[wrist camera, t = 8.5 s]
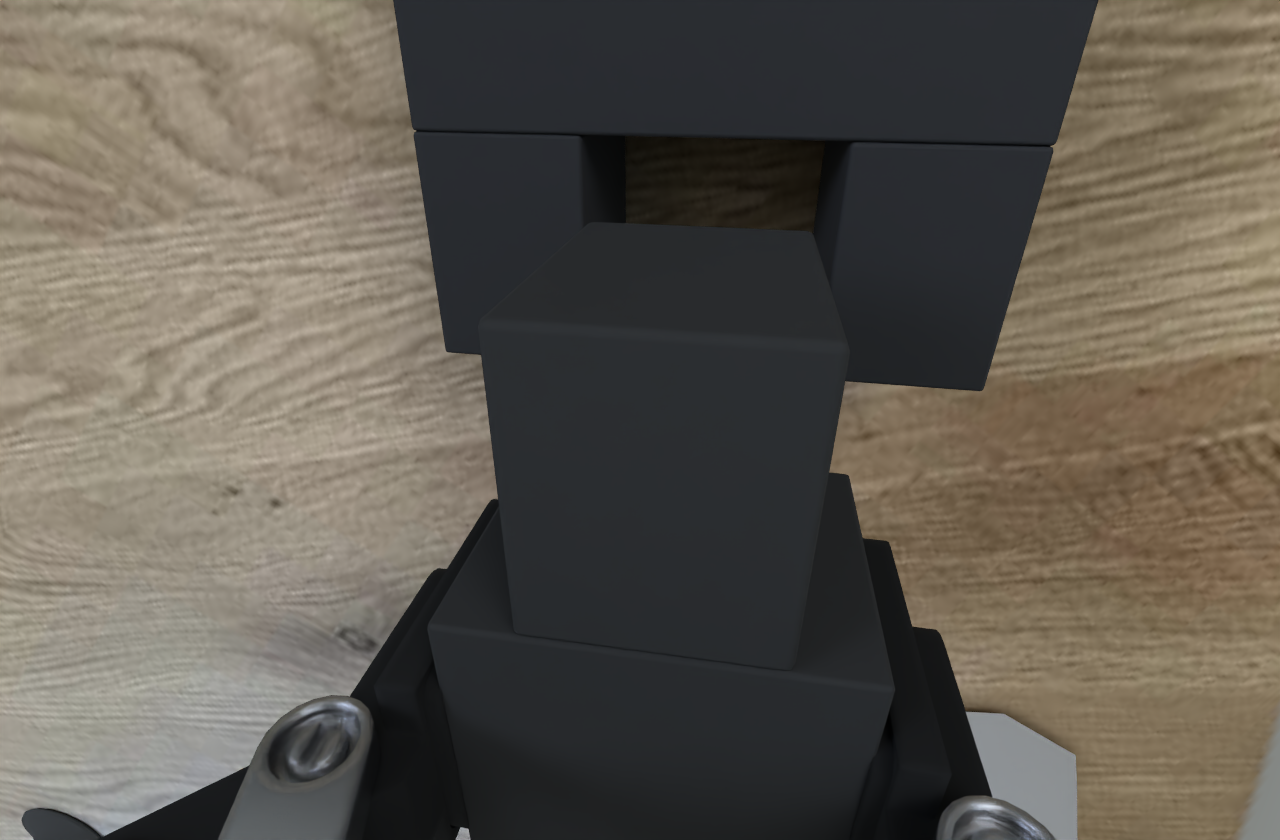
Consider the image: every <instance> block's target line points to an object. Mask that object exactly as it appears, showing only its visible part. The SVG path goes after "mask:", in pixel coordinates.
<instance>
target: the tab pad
mask: <svg viewBox="0 0 1280 840" xmlns="http://www.w3.org/2000/svg"><path fill="white" fill-rule="evenodd" d="M478 332H479V341H480V349H481V358H482V366H483V374H484V383H485V391H486V400H487V408H488V417H489V425H490V434H491V442H492V450H493V459H494V467H495V476H496V484H497V493H498V501H499V507H498V508H497V510H496V512H495V513H494V515H493V517H492V518H491V520H490V522H489V523H488V525H487V527H486V528H485V530H484V532H483V533H482V535H481V537H480V538H479V540H478V542H477V543H476V545H475V547H474V548H473V550H472V552H471V553H470V555H469V557H468V558H467V560H466V562H465V563H464V565H463V567H462V568H461V570H460V572H459V573H458V575H457V577H456V578H455V580H454V582H453V583H452V585H451V587H450V588H449V590H448V592H447V593H446V595H445V597H444V598H443V600H442V602H441V603H440V605H439V607H438V608H437V610H436V612H435V613H434V615H433V617H432V618H431V620H430V622H429V624H428V629H427V630H428V635H429V640H430V644H431V649H432V654H433V659H434V664H435V669H436V673H437V678H438V683H439V688H440V691H441V692H442V696H443V701H444V706H445V711H446V716H447V721H448V726H449V731H450V735H451V740H452V745H453V750H454V755H455V760H456V765H457V770H458V774H459V779H460V784H461V789H462V794H463V799H464V804H465V809H466V813H467V818H468V823H469V828H468V829H469V833H470V838H471V840H850V837H851V833H852V830H853V826H854V823H855V819H856V816H857V812H858V809H859V805H860V802H861V798H862V795H863V791H864V788H865V784H866V781H867V777H868V774H869V770H870V767H871V763H872V760H873V757H875V756H876V754H877V751H878V748H879V744H880V741H881V737H882V734H883V730H884V727H885V723H886V720H887V717H888V713H889V710H890V706H891V703H892V699H893V696H894V692H895V686H894V682H893V677H892V672H891V668H890V663H889V659H888V654H887V649H886V645H885V640H884V635H883V631H882V626H881V622H880V617H879V612H878V608H877V603H876V599H875V594H874V589H873V585H872V580H871V576H870V571H869V566H868V562H867V557H866V552H865V548H864V543H863V539H862V534H861V529H860V525H859V520H858V516H857V511H856V506H855V502H854V497H853V492H852V488H851V483H850V479H849V476H848V475H846V474H838V473H829V470H830V464H831V459H832V453H833V447H834V442H835V436H836V430H837V424H838V419H839V413H840V407H841V402H842V396H843V390H844V385H845V379H846V373H847V367H848V362H849V356H850V349H849V345H848V342H847V339H846V336H845V333H844V329H843V326H842V323H841V320H840V317H839V314H838V311H837V307H836V304H835V301H834V298H833V295H832V292H831V289H830V285H829V282H828V279H827V276H826V273H825V270H824V267H823V263H822V260H821V257H820V254H819V251H818V248H817V245H816V242H815V238H814V235H813V233H811V232H809V231H795V230H771V229H747V228H724V227H700V226H677V225H653V224H630V223H606V222H591V223H589V224H587V225H586V226H585V227H584V228H582V229H581V230H580V231H579V232H578V233H577V234H576V235H575V236H573V237H572V238H571V239H570V240H569V241H568V242H567V243H566V244H564V245H563V246H562V247H561V248H560V249H559V250H558V251H557V252H555V253H554V254H553V255H552V256H551V257H550V258H549V259H548V260H546V261H545V262H544V263H543V264H542V265H541V266H540V267H539V268H537V269H536V270H535V271H534V272H533V273H532V274H531V275H529V276H528V277H527V278H526V279H525V280H524V281H523V282H522V283H520V284H519V285H518V286H517V287H516V288H515V289H514V290H513V291H511V292H510V293H509V294H508V295H507V296H506V297H505V298H504V299H502V300H501V301H500V302H499V303H498V304H497V305H496V306H495V307H493V308H492V309H491V310H490V311H489V312H488V313H487V314H486V315H484V316H483V317H482V318H481V319H480V322H479V325H478Z"/></svg>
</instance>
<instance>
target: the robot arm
mask: <svg viewBox="0 0 1280 840" xmlns="http://www.w3.org/2000/svg"><path fill="white" fill-rule="evenodd" d="M498 507H499V501H498V500H497V499H493V500H491V501H490V502H489V503H488V505H487V506H486V508H485V510H484V511H483V513H482V514H481V516H480V518H479V519H478V521H477V522H476V524H475V526H474V527H473V529H472V530H471V532H470V533H469V535H468V537H467V538H466V540H465V541H464V543H463V545H462V546H461V548H460V549H459V551H458V552H457V554H456V556H455V557H454V559H453V560H452V562H451V564H450V565H449V567H448V568H447V569H441V568H438V569H436V570H434V571H433V572H432V573H431V574H430V576H429V577H428V578H427V580H426V581H425V583H424V584H423V586H422V587H421V589H420V590H419V592H418V593H417V595H416V596H415V598H414V599H413V601H412V602H411V604H410V606H409V607H408V609H407V610H406V612H405V613H404V615H403V616H402V618H401V619H400V621H399V622H398V624H397V625H396V627H395V628H394V630H393V631H392V633H391V634H390V636H389V637H388V639H387V641H386V642H385V644H384V645H383V647H382V648H381V650H380V651H379V653H378V654H377V656H376V657H375V659H374V660H373V662H372V663H371V665H370V666H369V668H368V669H367V671H366V672H365V674H364V676H363V677H362V679H361V680H360V682H359V683H358V685H357V686H356V688H355V689H354V691H353V692H352V694H351V695H350V697H349V696H337V695H331V696H326V697H321V698H317V699H313V700H311V701H308V702H306V703H304V704H302V705H299V706H297V707H296V708H294V709H293V710H291V711H290V712H288V713H287V714H285V715H284V716H282V717H281V718H280V719H279V720H278V721H277V722H276V723H275V724H274V725H273V726H272V727H271V728H270V729H269V730H268V731H267V732H266V734H265V736H264V737H263V739H262V741H261V742H260V744H259V746H258V747H257V750H256V752H255V754H254V757H253V759H252V761H251V764H250V765H249V766H247V767H245V768H243V769H241V770H239V771H237V772H235V773H233V774H231V775H229V776H227V777H225V778H223V779H221V780H219V781H217V782H215V783H213V784H210V785H208V786H206V787H204V788H202V789H200V790H198V791H196V792H194V793H192V794H190V795H188V796H186V797H184V798H182V799H180V800H178V801H176V802H174V803H171V804H169V805H167V806H165V807H163V808H161V809H159V810H157V811H155V812H153V813H151V814H149V815H147V816H145V817H143V818H141V819H139V820H137V821H135V822H133V823H130V824H128V825H126V826H124V827H122V828H120V829H118V830H116V831H114V832H112V833H110V834H108V835H106V836H104V837H102V838H100V839H98V840H455V839H456V837H457V834H458V832H459V829H460V827H463V828H469V823H468V818H467V813H466V809H465V804H464V799H463V794H462V789H461V784H460V779H459V774H458V770H457V765H456V760H455V755H454V750H453V745H452V740H451V735H450V731H449V726H448V721H447V716H446V711H445V706H444V701H443V696H442V692H441V691H440V688H439V683H438V678H437V673H436V669H435V664H434V659H433V654H432V649H431V644H430V640H429V635H428V630H427V629H428V624H429V622H430V620H431V618H432V617H433V615H434V613H435V612H436V610H437V608H438V607H439V605H440V603H441V602H442V600H443V598H444V597H445V595H446V593H447V592H448V590H449V588H450V587H451V585H452V583H453V582H454V580H455V578H456V577H457V575H458V573H459V572H460V570H461V568H462V567H463V565H464V563H465V562H466V560H467V558H468V557H469V555H470V553H471V552H472V550H473V548H474V547H475V545H476V543H477V542H478V540H479V538H480V537H481V535H482V533H483V532H484V530H485V528H486V527H487V525H488V523H489V522H490V520H491V518H492V517H493V515H494V513H495V512H496V510H497V508H498ZM862 539H863V543H864V548H865V552H866V557H867V562H868V566H869V571H870V576H871V580H872V585H873V589H874V594H875V599H876V603H877V608H878V612H879V617H880V622H881V626H882V631H883V635H884V640H885V645H886V649H887V654H888V659H889V663H890V668H891V672H892V677H893V682H894V686H895V692H894V696H893V699H892V703H891V706H890V710H889V713H888V717H887V720H886V723H885V727H884V730H883V734H882V737H881V741H880V744H879V748H878V751H877V754H876V756H875V757H873V760H872V763H871V767H870V770H869V774H868V777H867V781H866V784H865V788H864V791H863V795H862V798H861V802H860V805H859V809H858V812H857V816H856V819H855V823H854V826H853V830H852V833H851V837H850V840H1056V838H1055V837H1054V836H1053V835H1052V834H1051V833H1050V832H1049V830H1048V829H1047V828H1046V827H1045V826H1044V825H1042V824H1041V823H1040V822H1039V821H1037V820H1036V819H1035V818H1034V817H1032V816H1031V815H1030V814H1028V813H1027V812H1026V811H1024V810H1022V809H1020V808H1018V807H1016V806H1014V805H1012V804H1010V803H1009V802H1007V801H1004V800H1000V799H997V798H993V796H992V793H991V790H990V787H989V784H988V781H987V777H986V774H985V771H984V768H983V765H982V762H981V759H980V755H979V752H978V749H977V746H976V743H975V740H974V736H973V733H972V730H971V727H970V724H969V721H968V718H967V714H966V711H965V708H964V705H963V702H962V699H961V696H960V692H959V689H958V686H957V683H956V680H955V677H954V673H953V670H952V667H951V664H950V661H949V658H948V655H947V651H946V648H945V645H944V642H943V640H942V637H941V635H940V634H939V632H938V631H937V630H934V629H926V628H918V627H912V624H911V621H910V617H909V613H908V610H907V606H906V602H905V598H904V595H903V591H902V587H901V584H900V580H899V576H898V573H897V569H896V565H895V561H894V558H893V554H892V550H891V547H890V544H889V542H888V541H883V540H873V539H864V538H862Z"/></svg>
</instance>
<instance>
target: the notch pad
mask: <svg viewBox="0 0 1280 840" xmlns="http://www.w3.org/2000/svg"><path fill="white" fill-rule="evenodd" d="M393 1H394V8H395V15H396V21H397V28H398V35H399V41H400V48H401V55H402V61H403V68H404V75H405V81H406V88H407V95H408V101H409V108H410V115H411V121H412V127H413V129H414V130H416V131H417V132H415V133H414V141H415V148H416V155H417V161H418V168H419V175H420V181H421V188H422V195H423V201H424V208H425V215H426V221H427V228H428V235H429V241H430V248H431V255H432V261H433V268H434V275H435V281H436V288H437V295H438V301H439V308H440V315H441V321H442V328H443V335H444V341H445V348H446V351H447V352H451V353H465V354H478V355H481V349H480V341H479V332H478V325H479V322H480V319H481V318H482V317H483V316H484V315H486V314H487V313H488V312H489V311H490V310H491V309H492V308H493V307H495V306H496V305H497V304H498V303H499V302H500V301H501V300H502V299H504V298H505V297H506V296H507V295H508V294H509V293H510V292H511V291H513V290H514V289H515V288H516V287H517V286H518V285H519V284H520V283H522V282H523V281H524V280H525V279H526V278H527V277H528V276H529V275H531V274H532V273H533V272H534V271H535V270H536V269H537V268H539V267H540V266H541V265H542V264H543V263H544V262H545V261H546V260H548V259H549V258H550V257H551V256H552V255H553V254H554V253H555V252H557V251H558V250H559V249H560V248H561V247H562V246H563V245H564V244H566V243H567V242H568V241H569V240H570V239H571V238H572V237H573V236H575V235H576V234H577V233H578V232H579V231H580V230H581V229H582V228H584V227H585V226H586V225H587V224H589V223H591V222H606V223H626V162H625V136H646V137H689V138H732V139H774V140H817V141H825V148H824V155H823V163H822V170H821V178H820V185H819V193H818V200H817V207H816V215H815V222H814V230H813V235H814V238H815V242H816V245H817V248H818V251H819V254H820V257H821V260H822V263H823V267H824V270H825V273H826V276H827V279H828V282H829V285H830V289H831V292H832V295H833V298H834V301H835V304H836V307H837V311H838V314H839V317H840V320H841V323H842V326H843V329H844V333H845V336H846V339H847V342H848V345H849V349H850V356H849V362H848V367H847V373H846V379H845V381H849V382H863V383H877V384H890V385H904V386H917V387H931V388H945V389H958V390H972V391H982V390H983V389H984V386H985V383H986V379H987V376H988V372H989V369H990V366H991V362H992V359H993V355H994V352H995V349H996V345H997V342H998V338H999V335H1000V332H1001V328H1002V325H1003V321H1004V318H1005V315H1006V311H1007V308H1008V304H1009V301H1010V297H1011V294H1012V291H1013V287H1014V284H1015V280H1016V277H1017V274H1018V270H1019V267H1020V263H1021V260H1022V257H1023V253H1024V250H1025V246H1026V243H1027V240H1028V236H1029V233H1030V229H1031V226H1032V223H1033V219H1034V216H1035V212H1036V209H1037V206H1038V202H1039V199H1040V195H1041V192H1042V189H1043V185H1044V182H1045V178H1046V175H1047V172H1048V168H1049V165H1050V161H1051V158H1052V154H1053V148H1052V147H1050V146H1051V145H1054V144H1055V143H1056V141H1057V139H1058V135H1059V132H1060V129H1061V125H1062V122H1063V118H1064V115H1065V112H1066V108H1067V105H1068V101H1069V98H1070V95H1071V91H1072V88H1073V84H1074V81H1075V78H1076V74H1077V71H1078V67H1079V64H1080V61H1081V57H1082V54H1083V50H1084V47H1085V44H1086V40H1087V37H1088V33H1089V30H1090V27H1091V23H1092V20H1093V16H1094V13H1095V10H1096V6H1097V3H1098V0H393Z"/></svg>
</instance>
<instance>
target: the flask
mask: <svg viewBox="0 0 1280 840" xmlns="http://www.w3.org/2000/svg"><path fill="white" fill-rule="evenodd" d="M966 714H967V718H968V721H969V724H970V727H971V730H972V733H973V736H974V740H975V743H976V746H977V749H978V752H979V755H980V759H981V762H982V765H983V768H984V771H985V774H986V777H987V781H988V784H989V787H990V790H991V793H992V796H993V798H997V799H1000V800H1004V801H1007V802H1009V803H1010V804H1012V805H1014V806H1016V807H1018V808H1020V809H1022V810H1024V811H1026V812H1027V813H1028V814H1030V815H1031V816H1032V817H1034V818H1035V819H1036V820H1037V821H1039V822H1040V823H1041V824H1042V825H1044V826H1045V827H1046V828H1047V829H1048V830H1049V832H1050V833H1051V834H1052V835H1053V836H1054V837H1055V838H1056V840H1077V775H1076V755H1074V754H1073V753H1071V752H1069V751H1067V750H1066V749H1064V748H1062V747H1060V746H1059V745H1057V744H1055V743H1054V742H1052V741H1050V740H1048V739H1047V738H1045V737H1043V736H1041V735H1040V734H1038V733H1036V732H1035V731H1033V730H1031V729H1029V728H1028V727H1026V726H1024V725H1022V724H1021V723H1019V722H1017V721H1015V720H1014V719H1012V718H1010V717H1009V716H1007V715H1005V714H997V713H981V712H966Z"/></svg>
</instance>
